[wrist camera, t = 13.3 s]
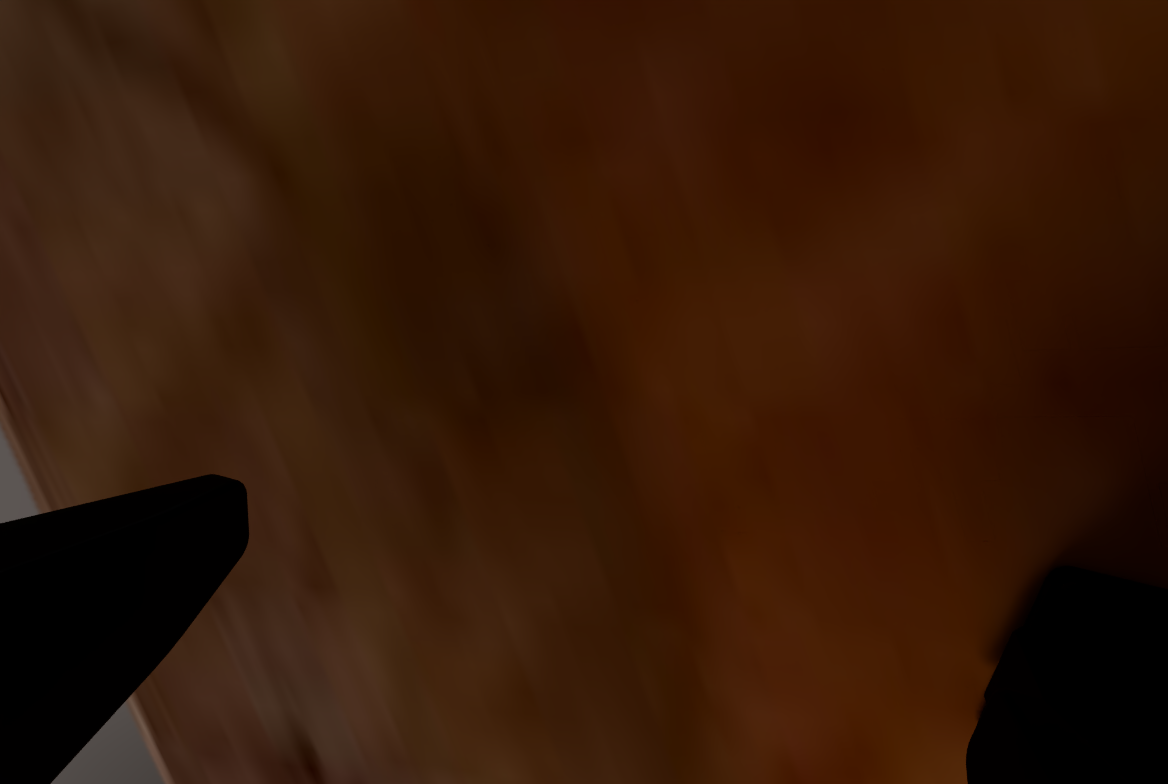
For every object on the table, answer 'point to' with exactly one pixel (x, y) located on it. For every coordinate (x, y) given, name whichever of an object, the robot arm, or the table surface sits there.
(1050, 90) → the table surface
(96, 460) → the table surface
